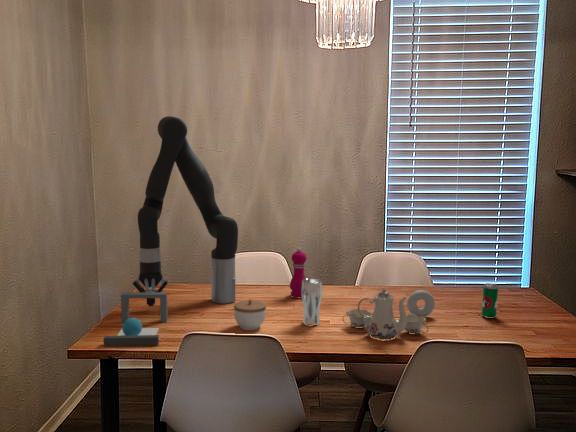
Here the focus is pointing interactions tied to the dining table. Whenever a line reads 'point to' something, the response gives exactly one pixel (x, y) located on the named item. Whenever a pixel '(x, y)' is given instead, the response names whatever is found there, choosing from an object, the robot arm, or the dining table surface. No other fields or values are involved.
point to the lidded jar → (249, 314)
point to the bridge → (160, 295)
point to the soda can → (490, 300)
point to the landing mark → (143, 331)
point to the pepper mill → (298, 273)
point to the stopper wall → (131, 340)
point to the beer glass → (311, 300)
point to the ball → (132, 327)
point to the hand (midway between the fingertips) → (151, 305)
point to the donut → (418, 296)
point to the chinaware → (385, 318)
